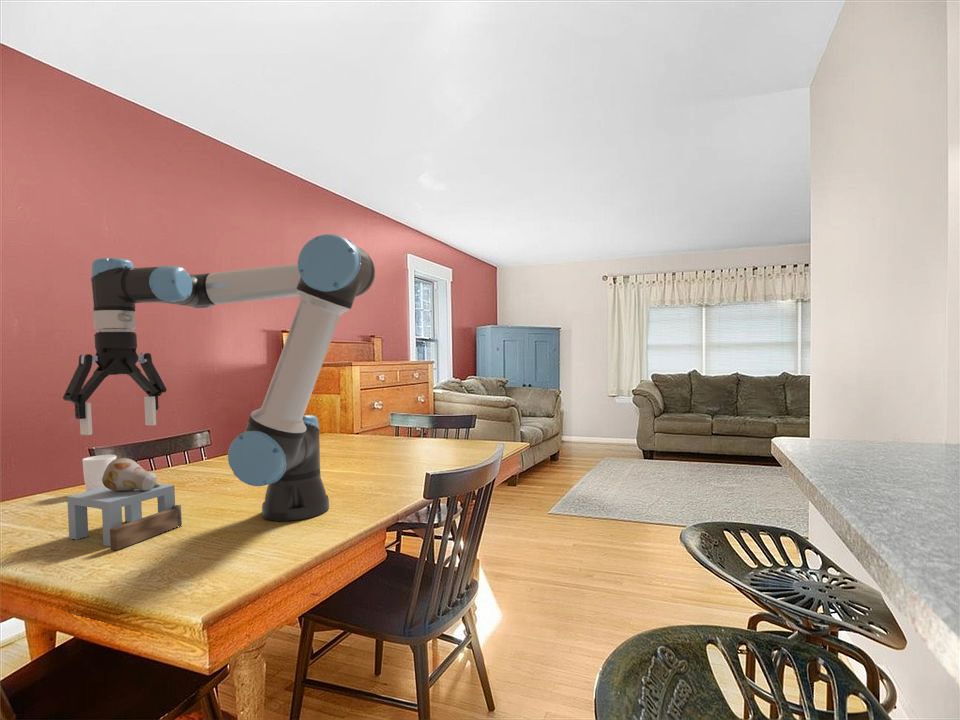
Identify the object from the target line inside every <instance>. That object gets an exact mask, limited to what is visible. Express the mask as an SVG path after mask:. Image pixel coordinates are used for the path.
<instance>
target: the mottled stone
mask: <svg viewBox="0 0 960 720" xmlns="http://www.w3.org/2000/svg"><path fill="white" fill-rule="evenodd" d="M157 480H158V478H157V475H156V473H154V472H151V471H148V470H146V469H144V468H143V467H142V466H140V464H138V462H137V461H135V460H133V459H131V458H127V457H118V458H117V457H116V459H115V460H113V461H112V462H111V463H109V465H108V466H107V468H106V470H105V472H104V475H103V478H102V482H103V484H104V486H105V487H106V488H108V489H110V490H113V491H126V490H133V489H138V490H143V491H148V490H150V489H152V488H153V487H154V486H157V487H159V486H160V484H161V483H160V482H158V481H157Z"/></svg>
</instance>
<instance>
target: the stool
mask: <svg viewBox="0 0 960 720" xmlns="http://www.w3.org/2000/svg"><path fill="white" fill-rule="evenodd" d="M175 490H176V489H175V485H173V484H167V483H166V484H165V483H160V486H159V487H157V486H154V487H153V488H152V489H150V490H148V491H143V490H138V489H133V490H126V491H113V490H110V489H108V488H106V487H105V488H101V489H97V490H92V491H88V492H86V491H84V492H81V493H77V494H73V495H72V494H71V495H68V496H67V498H66V499H67V502H66V503H67V517H68V518H67V520H68V539H69V540H72V539H75V540H74V541H78V540H81V539H80V538H82V539H84V538H83V537H85V538H87V536H88V537H89V521H88V520H89V519H88V508H91V509H97V510H98V509H99V510H101V516H102V517H101V518H102V519H101V520H102V541H103V542H102V543H103V546H104V547H108V546H110V529H111V528H114V527H117V526H120V525H123V508H124V522H125V521H127V522H126V523H128V522H132V521H135V520H138V519H141V518H143V512H142V511H143V510H142V508H143V507H142V506H143V505H142V502H145V501H148V500H152V499H156V498H157V513H159V512H162V511H165V510H168V509H171V508H172V506H174V505H176V492H175ZM77 539H78V540H77ZM109 548H111V546H110V547H109Z"/></svg>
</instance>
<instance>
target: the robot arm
mask: <svg viewBox="0 0 960 720" xmlns="http://www.w3.org/2000/svg"><path fill="white" fill-rule="evenodd" d="M375 278H376V269H375V264H374V261H373V259H372V257H371V256H370V255H369V253H367V251H365V250H363V248H360V247H359V246H357V245H356V244H355V243H354V242H352V240H350V239H347V238H346V237H345V236H343V237H342V236H339V235H337V234H333V233H332V234H331V233H325V234H320V235H317V236H315V237H312V238H311V239H310V240H308V241H307V242H306V243H304V245H303V246H302V248H301V250H300V252H299V255H298V258H297V263H294V264H293V263H292V264H283V265H275V266H263V267H255V268H246V269H244V268H243V269H234V270H227V271H217V272H211V273H210V272H209V273H198V274H193V273H189V272H187V271H186V269H185V268H184V267H182V266H169V265H161V266H150V267H147V266H145V267H134V264H133V262H132V261H131V260H129V259H125V258H118V257H117V258H116V257H112V258H111V257H100V258H95V259H94V260H92V263H91V277H90V281H91V289H92V301H93V329H94V330H95V331H97V332H95V334H94V349H95V350H96V351H95V355H92V354H90V353H89V354H87V353H86V354H85V353H84V354H80V355H79V356H78V365H77V368H76V369H75V371H74V374H73V376H72V378H71V379H70V382H69V383H68V385H67V388H66V390H65V393H64V394H63V396H62V399H63V400H64V401H66V402H70V403H73V405H74V415H75V419H76V420H79V430H80V431H79V433H80V435H82V436H91V435H93V422H92V418H93V417H92V402H87V401H88V400H89V398H91V396H93V394H94V392H95V391H96V390H97V389H98V388H99V386H100V385H101V384H102V382H103V381H104V380H105V379H106V378H107V377H109V376H112V375H113V376H114V375H115V376H116V375H127V376H129V377H130V378H131V379H132V380H133V381H134V382H135V383H136V384H137V385H138V386H139V387H140V389H141V390H143V391H144V392H145V394H146V395H147V396H143V401H144V402H143V404H144V422H145V424H144V425H145V426H157V410H159V407H160V406H159V397H160V396H161V395H162V394H163V393H166V392H167V388H166V385H165V384H164V381H163V380H162V378H161V376H160V375H159V372H158V371H157V369H156V366H155V365H154V363H153V358H152V353H150V352H145V353H143V352H141V353H140V354H138V353H137V348H138V339H137V337H138V335H137V334H138V333H136V332H134V331H135V330H136V329H137V323H136V322H137V319H136V304H141V303H143V304H145V303H146V304H149V303H151V304H152V303H163V304H169V305H178V306H184V307H191V308H194V309H195V308H196V309H208V308H211V307H213V306H215V305H224V304H225V305H226V304H233V303H234V304H235V303H244V302H254V301H255V302H256V301H265V300H275V299H277V300H278V299H285V298H296V297H298V298H299V303H298V306H297V308H296V309H297V310H296V312H295V314H294V318H293V320H292V322H291V323H292V324H291V325H290V329H289V331H288V333H287V337H286V340H285V342H284V345H283V348H282V349H281V353H280V356H279V359H278V361H277V364H276V367H275V369H274V372H273V375H272V378H271V381H270V383H269V386H268V388H267V391H266V393H265V397H264V399H263V401H262V402H263V403H262V406H261V407H260V408H258V409H255V410H253V411H252V412H251V413H250V415H249V419H248V421H247V424H246V427H245V429H244V431H243V432H242V433H240V434H238V435H237V436H236V437H235V438H234V439H233V440H232V442H231V443H230V446H229V447H228V452H227V461H228V462H227V463H228V466H229V467H230V469H231V471H232V473H233V475H234V476H235V478H237V479H238V480H239V481H241V482H242V483H244V484H246V485H248V486H252V487H264V486H267V488H266V492H265V496H264V501H263V503H262V505H261V517H262V518H263V519H265V520H269V521H275V522H276V521H278V522H285V521H286V522H288V521H298V520H304V519H309V518H313V517H317V516H319V515H322V514H324V513H326V512H327V511H328V510H329V509H330V497H329V496H328V494H327V493H326V489H325V486H324V482H323V479H322V477H321V453H320V452H321V451H320V448H321V445H320V430H321V428H320V426H319V419H318V417H317V416H315V415H312V414H306V415H305V413H306V410H307V409H308V408H307V407H308V405H309V402H310V399H311V397H312V394H313V391H314V388H315V386H316V383H317V380H318V378H319V376H320V372H321V370H322V367H323V364H324V362H325V358H326V356H327V353H328V351H329V348H330V345H331V342H332V340H333V337H334V334H335V331H336V329H337V326H338V323H339V320H340V318H341V316H342V315H343V314H344V313H345V314H346V313H347V312H350V311H351V310H352V307H353V304H354V302H355V299H356V297H359V296H362V295H363V294H364V293H367V291H369V290H370V288H371V287H372V285H373V283H374V281H375ZM137 362H138V363H139V364H140V367H141V368H142V370H143V372H144V374H145V375H146V376H145V375H144V374H143V373H142V370H141V369H140V368H139V367H138V366H137V365H136V364H137ZM95 364H96V365H97V367H96V369H95V370H94V371H93V373H92V375H91V377H90V378H89V379H87V377H88V376H89V373H90V372H91V369H92V366H93V365H95ZM86 380H87V381H86ZM85 382H86V383H85Z"/></svg>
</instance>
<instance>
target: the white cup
mask: <svg viewBox="0 0 960 720" xmlns="http://www.w3.org/2000/svg"><path fill="white" fill-rule="evenodd" d="M115 459H117V455H115V454H103V455H94V456H93V455H92V456H87V457H84V458H82V459H81V460H82V471H83V479H84V485H85V492H88V491H92V490H97V489H101V488H105V486H104V484H103V482H102V478H103V475H104V472H105V470H106V468H107V466H108V465H109V463H111V462H112V461H113V460H115Z"/></svg>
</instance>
